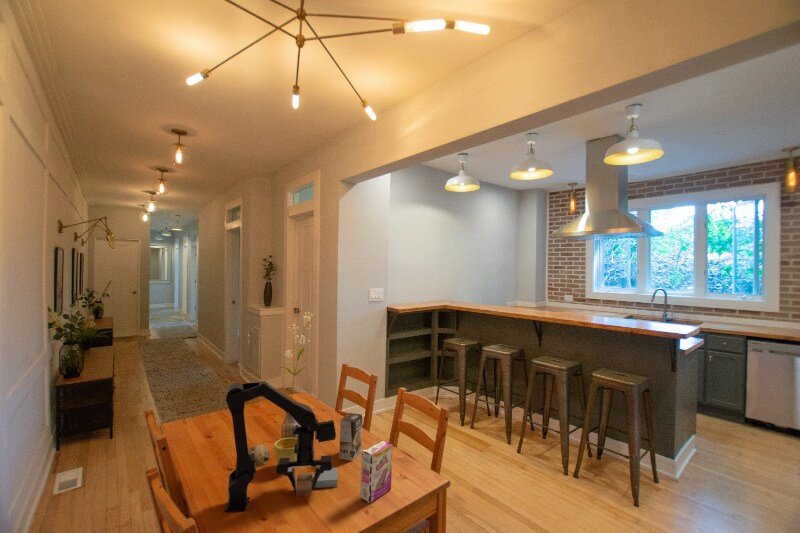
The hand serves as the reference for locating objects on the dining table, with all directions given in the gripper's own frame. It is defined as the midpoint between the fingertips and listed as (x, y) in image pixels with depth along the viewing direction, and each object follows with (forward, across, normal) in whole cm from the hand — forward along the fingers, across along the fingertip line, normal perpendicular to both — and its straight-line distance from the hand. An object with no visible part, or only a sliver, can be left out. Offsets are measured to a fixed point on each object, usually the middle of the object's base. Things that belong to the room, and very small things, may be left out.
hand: (304, 488), depth 130 cm
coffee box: (+1, -17, -24) cm, 29 cm away
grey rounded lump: (+1, +21, -24) cm, 32 cm away
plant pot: (+1, +8, -17) cm, 19 cm away
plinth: (+1, -8, -6) cm, 9 cm away
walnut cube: (+1, 0, 0) cm, 1 cm away
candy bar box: (+1, -25, +5) cm, 26 cm away
